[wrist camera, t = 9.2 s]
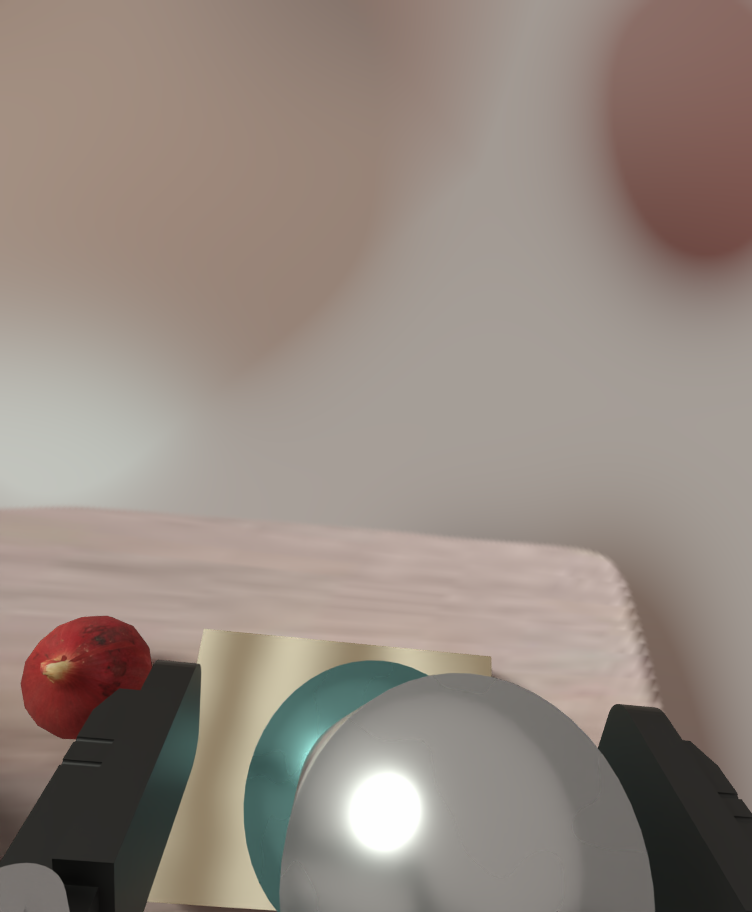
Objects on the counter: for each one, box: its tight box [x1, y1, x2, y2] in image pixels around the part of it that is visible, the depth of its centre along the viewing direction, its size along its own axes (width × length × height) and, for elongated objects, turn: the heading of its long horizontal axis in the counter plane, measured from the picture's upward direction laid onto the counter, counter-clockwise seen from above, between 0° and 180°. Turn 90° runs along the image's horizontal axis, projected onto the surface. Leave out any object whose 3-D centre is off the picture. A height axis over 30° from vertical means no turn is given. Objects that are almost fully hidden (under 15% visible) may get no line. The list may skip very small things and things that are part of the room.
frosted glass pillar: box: [244, 660, 655, 912], centre depth 12 cm, size 6×6×15 cm
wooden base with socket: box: [148, 629, 491, 911], centre depth 29 cm, size 16×12×7 cm
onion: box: [21, 616, 152, 739], centre depth 29 cm, size 6×6×8 cm
